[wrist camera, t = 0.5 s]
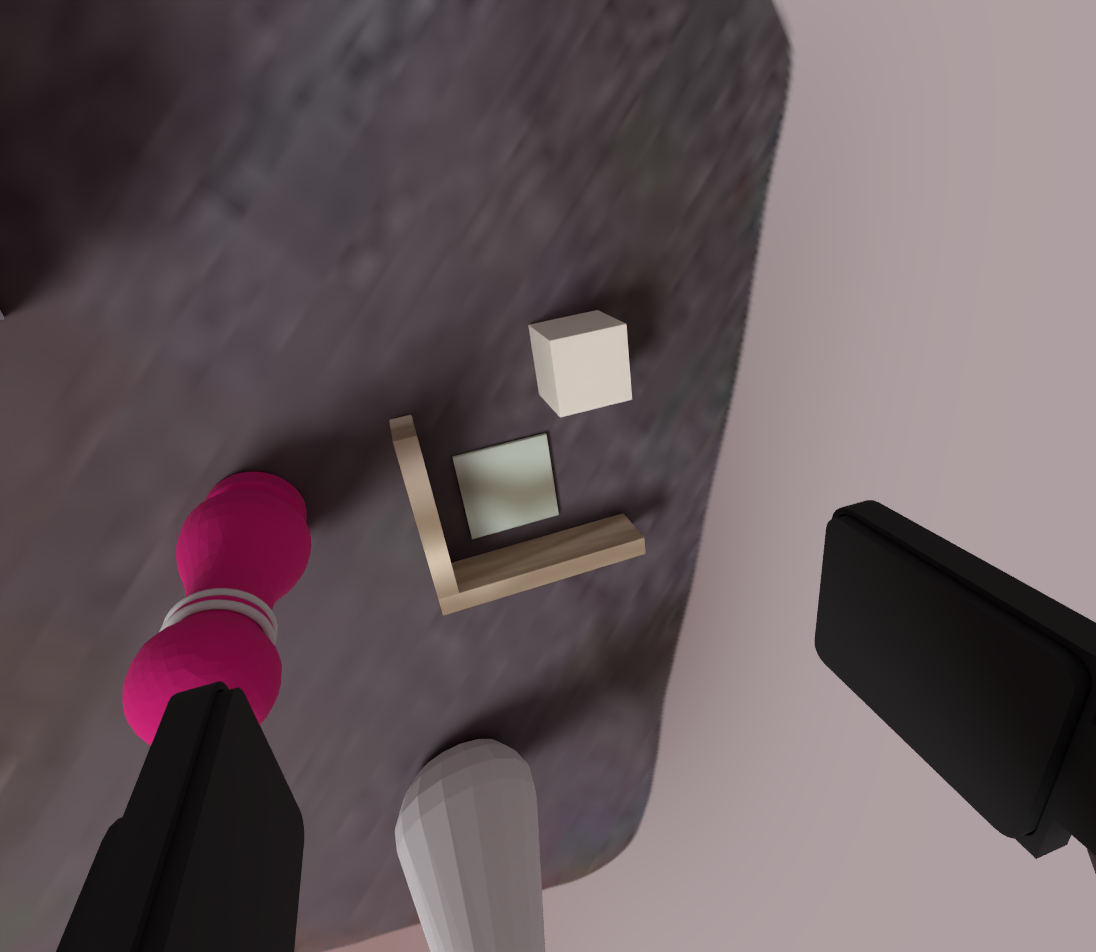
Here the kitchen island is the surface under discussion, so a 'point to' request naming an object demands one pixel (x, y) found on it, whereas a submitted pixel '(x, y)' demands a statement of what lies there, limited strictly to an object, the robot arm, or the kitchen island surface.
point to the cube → (581, 362)
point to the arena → (505, 521)
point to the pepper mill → (225, 599)
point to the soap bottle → (474, 850)
